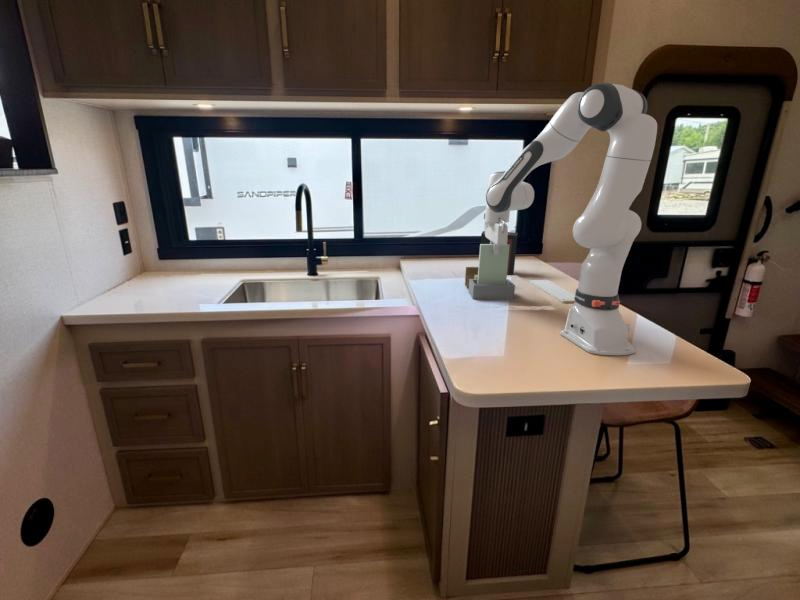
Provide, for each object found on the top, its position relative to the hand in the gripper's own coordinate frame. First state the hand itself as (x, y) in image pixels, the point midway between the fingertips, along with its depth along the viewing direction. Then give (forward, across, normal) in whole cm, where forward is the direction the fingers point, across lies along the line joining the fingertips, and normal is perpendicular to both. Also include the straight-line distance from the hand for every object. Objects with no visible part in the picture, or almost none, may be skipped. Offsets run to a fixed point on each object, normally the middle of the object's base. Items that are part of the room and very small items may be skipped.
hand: (494, 253), depth 158 cm
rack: (+18, +11, 0) cm, 21 cm away
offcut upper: (+14, +8, +1) cm, 16 cm away
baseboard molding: (+20, +11, -32) cm, 39 cm away
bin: (+19, 0, 0) cm, 19 cm away
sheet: (+15, 0, 0) cm, 15 cm away
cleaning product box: (+19, +42, -13) cm, 47 cm away
